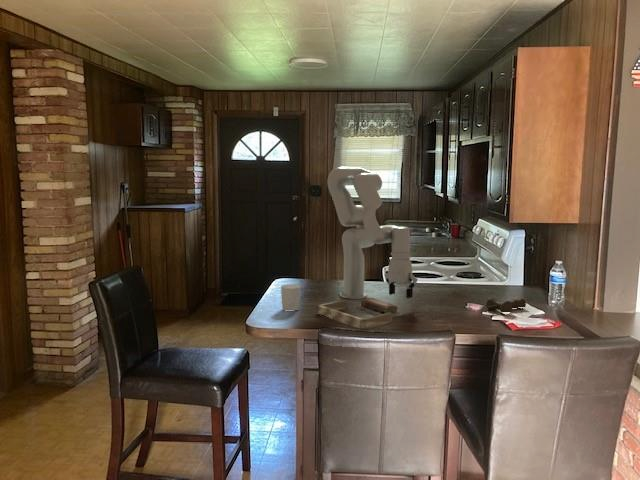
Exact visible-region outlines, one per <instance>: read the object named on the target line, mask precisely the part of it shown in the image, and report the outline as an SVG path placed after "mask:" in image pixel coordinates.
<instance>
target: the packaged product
mask: <svg viewBox="0 0 640 480" xmlns="http://www.w3.org/2000/svg"><path fill="white" fill-rule="evenodd" d="M356 309H357V310H358V311H359V310H360V311H362V312H365V313H367V314H369V315H372V316H377V315H381V314H385V313H392V318H396V317H401V316H403V315H404V312H401V311H398V306H397V305H394V304H391V303H388V302H386V301H382V300H381V299H377V298H374V297H365V298H362V299H360V303H359V306H358V305H357V308H356Z"/></svg>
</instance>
